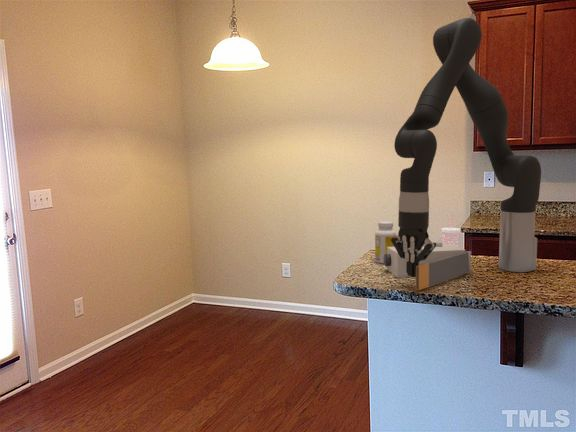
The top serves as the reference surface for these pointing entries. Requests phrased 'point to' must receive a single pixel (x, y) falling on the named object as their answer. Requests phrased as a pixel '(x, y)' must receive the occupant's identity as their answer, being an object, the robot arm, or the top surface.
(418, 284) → the side door
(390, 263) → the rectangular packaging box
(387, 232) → the supplement bottle
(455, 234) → the beverage cup
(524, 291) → the top surface
